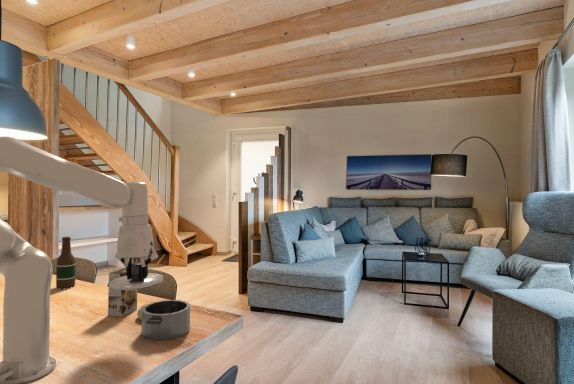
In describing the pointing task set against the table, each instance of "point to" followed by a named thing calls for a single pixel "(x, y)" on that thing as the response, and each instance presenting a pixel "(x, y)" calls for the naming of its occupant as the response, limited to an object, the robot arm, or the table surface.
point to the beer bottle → (65, 266)
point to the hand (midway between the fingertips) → (137, 277)
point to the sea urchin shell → (140, 312)
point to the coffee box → (120, 297)
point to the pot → (165, 320)
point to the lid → (136, 280)
